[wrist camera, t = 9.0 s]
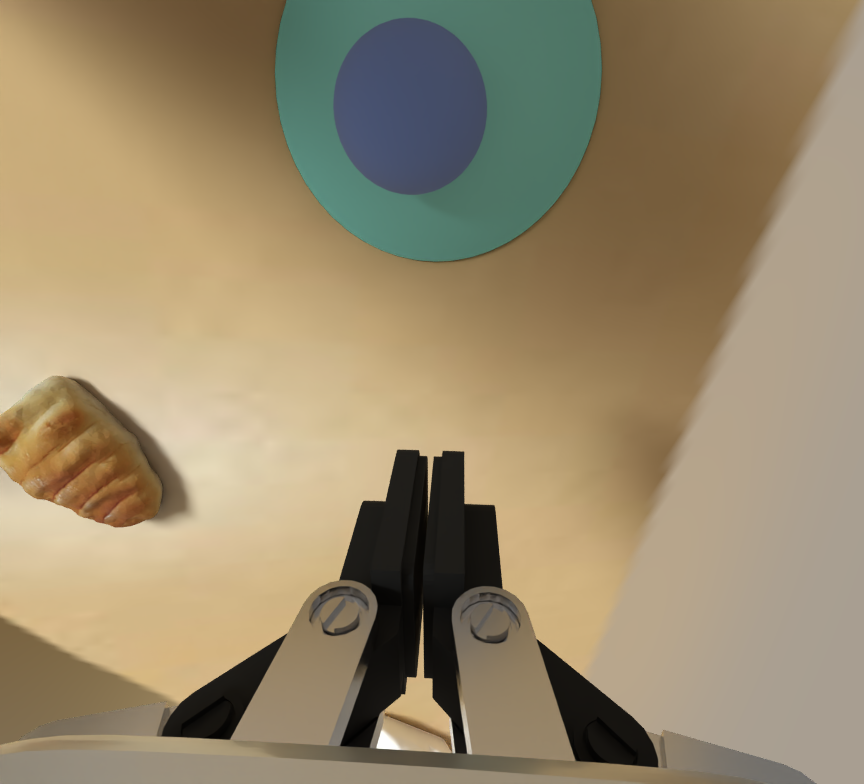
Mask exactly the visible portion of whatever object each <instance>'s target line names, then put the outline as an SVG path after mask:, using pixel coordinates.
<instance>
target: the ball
mask: <svg viewBox="0 0 864 784" xmlns="http://www.w3.org/2000/svg"><path fill="white" fill-rule="evenodd" d="M333 109H334V119H335V125H336V129H337V133H338V136H339V139H340V142H341V144H342V146H343V148H344V150H345V152H346V154H347V156H348V157H349V159H350V160H351V162H352V163H353V165H354V166H355V167H356V168H357V169H358V170H359V171H360V172H361V173H362V174H363V175H364V176H365V177H366V178H367V179H368V180H370V181H371V182H373V183H374V184H376V185H377V186H379V187H381V188H383V189H386V190H388V191H391V192H395V193H399V194H405V195H419V194H425V193H429V192H433V191H436V190H438V189H441V188H442V187H444V186H446V185H448V184H449V183H451V182H452V181H454V180H455V179H456V178H457V177H458V176H460V175H461V174H462V173H463V172H464V170H465V169H466V168H467V167H468V166H469V164H470V163H471V161H472V160H473V158H474V156H475V155H476V153H477V151H478V149H479V147H480V144H481V141H482V138H483V135H484V131H485V126H486V119H487V98H486V90H485V86H484V82H483V78H482V75H481V72H480V70H479V68H478V65H477V63H476V61H475V59H474V58H473V56H472V54H471V53H470V52H469V50H468V49H467V47H466V46H465V45H464V44H463V43H462V42H461V41H460V40H459V39H458V38H457V37H456V36H455V35H454V34H453V33H451V32H450V31H448V30H447V29H445V28H444V27H442V26H440V25H438V24H436V23H433V22H431V21H428V20H423V19H418V18H398V19H393V20H390V21H387V22H384V23H381V24H379V25H377V26H375V27H374V28H372V29H371V30H369V31H368V32H367V33H365V34H364V35H363V36H362V37H360V38H359V39H358V40H357V42H356V43H355V44H354V45H353V46H352V48H351V49H350V50H349V52H348V54H347V55H346V57H345V59H344V61H343V63H342V65H341V67H340V70H339V73H338V76H337V79H336V84H335V90H334V99H333Z"/></svg>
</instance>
